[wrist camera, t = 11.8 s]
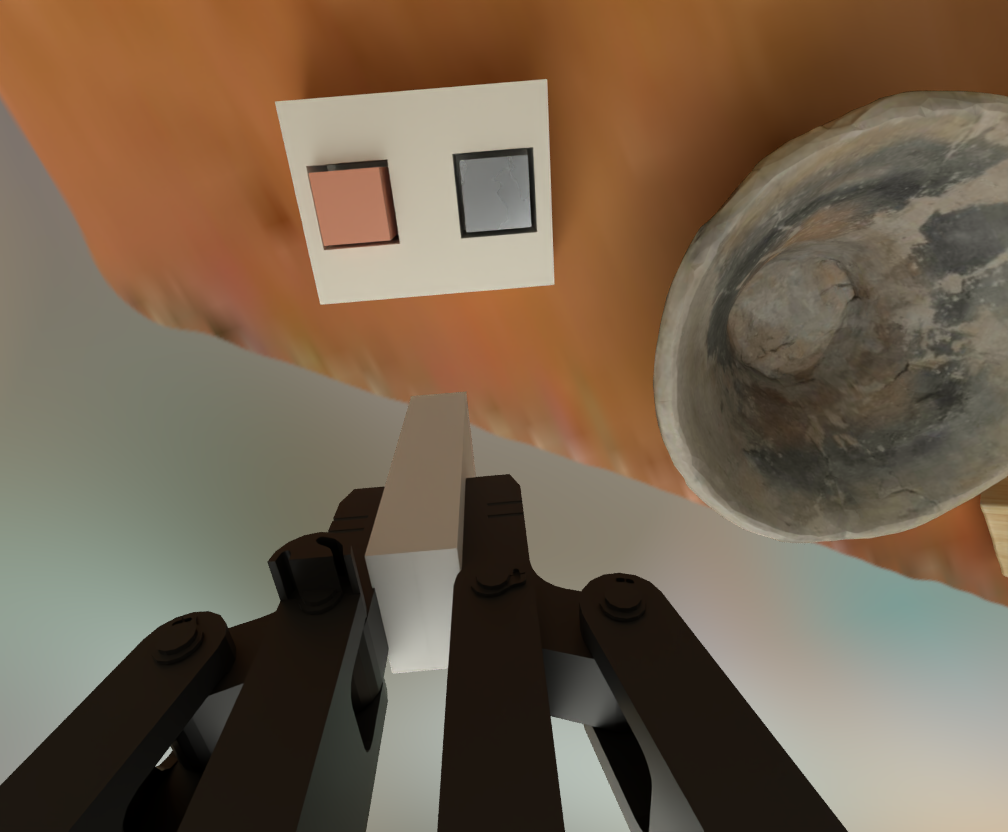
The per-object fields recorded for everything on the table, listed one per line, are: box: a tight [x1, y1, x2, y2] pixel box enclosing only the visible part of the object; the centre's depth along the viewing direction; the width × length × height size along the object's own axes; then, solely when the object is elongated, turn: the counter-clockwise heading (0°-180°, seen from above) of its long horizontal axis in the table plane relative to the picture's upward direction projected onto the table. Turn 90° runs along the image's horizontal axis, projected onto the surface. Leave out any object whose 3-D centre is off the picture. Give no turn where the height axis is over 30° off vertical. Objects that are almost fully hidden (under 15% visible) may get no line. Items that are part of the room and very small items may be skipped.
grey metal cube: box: [459, 155, 531, 232], centre depth 36 cm, size 4×4×4 cm
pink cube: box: [309, 167, 398, 246], centre depth 35 cm, size 4×4×4 cm
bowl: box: [653, 91, 1008, 543], centre depth 37 cm, size 27×26×15 cm
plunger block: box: [275, 79, 554, 305], centre depth 37 cm, size 12×16×6 cm
